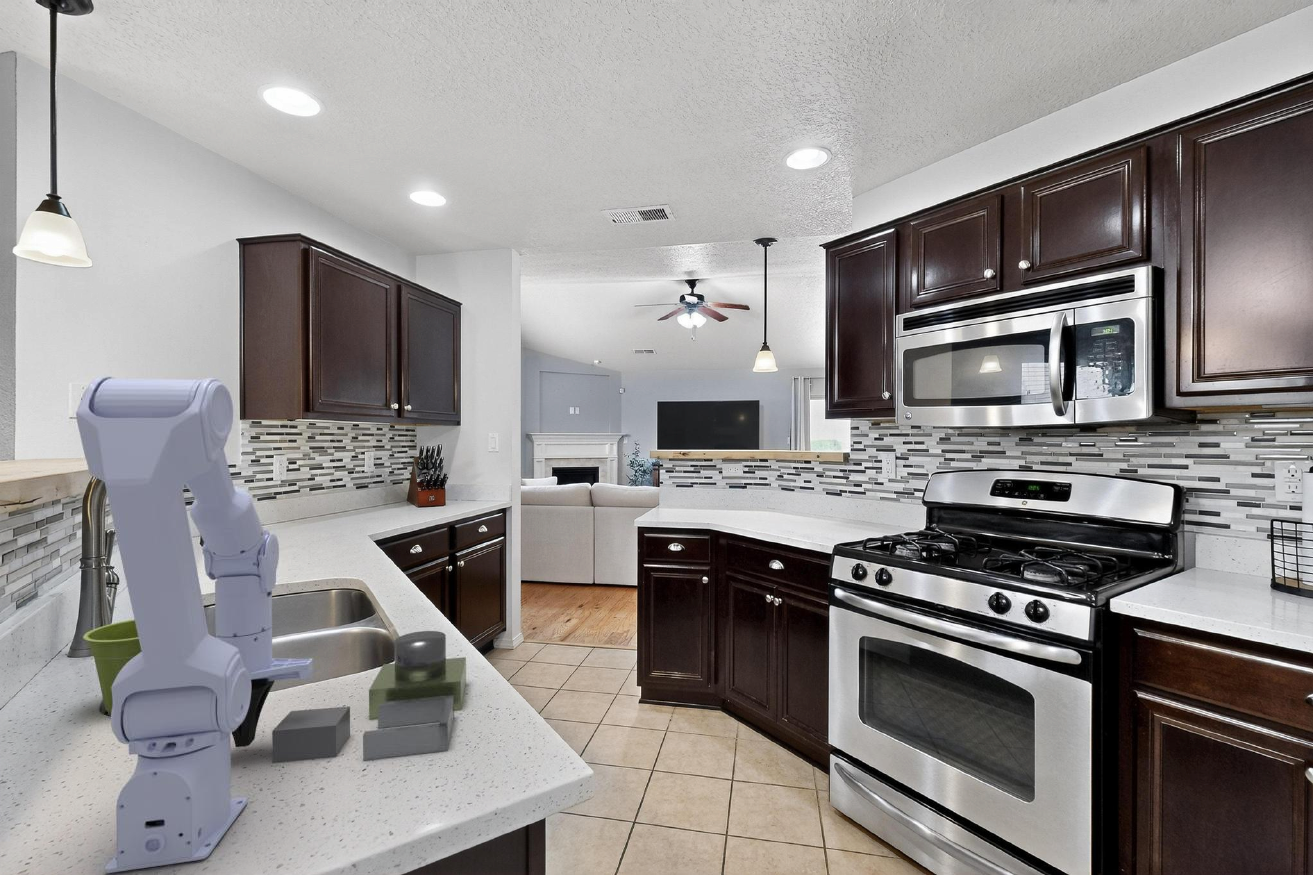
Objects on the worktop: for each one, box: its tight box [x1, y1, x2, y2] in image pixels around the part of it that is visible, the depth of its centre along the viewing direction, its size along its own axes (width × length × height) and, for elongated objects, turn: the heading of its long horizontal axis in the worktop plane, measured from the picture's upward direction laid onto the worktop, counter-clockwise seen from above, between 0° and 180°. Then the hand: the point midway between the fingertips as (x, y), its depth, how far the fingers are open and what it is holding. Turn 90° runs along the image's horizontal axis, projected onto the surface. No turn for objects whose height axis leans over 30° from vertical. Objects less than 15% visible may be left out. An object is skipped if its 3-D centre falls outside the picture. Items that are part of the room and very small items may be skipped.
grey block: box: [271, 705, 351, 764], centre depth 77 cm, size 6×7×4 cm
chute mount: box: [362, 630, 467, 762], centre depth 85 cm, size 22×12×9 cm, turn 13°
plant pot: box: [82, 618, 142, 714], centre depth 91 cm, size 12×12×11 cm
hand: (245, 742), depth 75 cm, fingers closed
